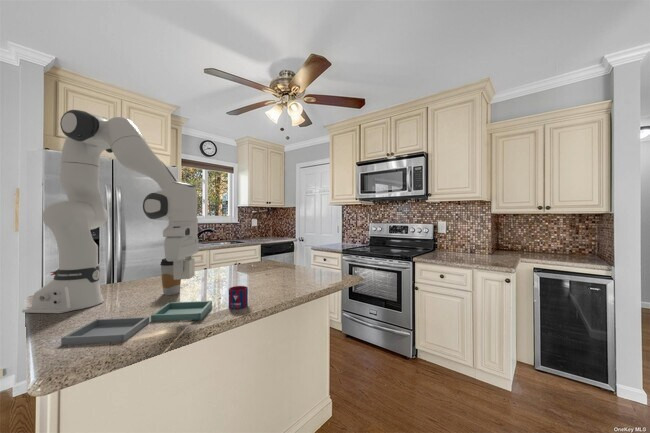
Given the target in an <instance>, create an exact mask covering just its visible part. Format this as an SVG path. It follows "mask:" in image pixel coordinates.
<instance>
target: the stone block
mask: <svg viewBox="0 0 650 433" xmlns="http://www.w3.org/2000/svg"><path fill="white" fill-rule="evenodd" d="M183 266H184V271H183V272H182V273H177V267H176V265H175V261H173V271H174V280H176V279H181V280H190V279H192V278H194V277H195V258H192V259H185V258H184V259H183Z"/></svg>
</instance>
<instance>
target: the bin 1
mask: <svg viewBox="0 0 650 433" xmlns="http://www.w3.org/2000/svg"><path fill="white" fill-rule="evenodd" d="M148 324H150V316H137V317H135V316H134V317H118V318H117V317H116V318H115V317H114V318H110V317H109V318H96V319H94V320H92V321H90V322H88V323H87V324H84V325H83V326H80V327H79V328H77V329H75V330H73V331H72V332H70V333H68V334H66V335H64V336H62V337H61V340H60V343H61V344H60V345H61V346H70V345H71V346H72V345H87V344H89V345H90V344H105V343H106V344H107V343H125V342H126V341H127V340H129V339H130V338H131V337H133V336H134V335H136V334H137V333H138V332H140V330H142V329H143V328H145V327H146V326H147V325H148Z"/></svg>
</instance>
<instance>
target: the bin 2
mask: <svg viewBox="0 0 650 433" xmlns="http://www.w3.org/2000/svg"><path fill="white" fill-rule="evenodd" d="M212 308H213V300H205V301H204V300H203V301H202V300H200V301H199V300H198V301H176V302H175V301H174V302H170V301H169V302H167V303H166V304H165V305H163V306H162V307H161V308H159V309H158V310H156V311H154V313H152V314H151V315H150V322H164V321H167V322H168V321H186V320H187V321H189V320H191V322H201V321H202V320H203V319H204V318H205V317H206V316H207V314H208V313H209V312H210V311H211V309H212Z"/></svg>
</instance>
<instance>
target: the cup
mask: <svg viewBox="0 0 650 433" xmlns="http://www.w3.org/2000/svg"><path fill="white" fill-rule="evenodd" d="M248 291H249V289H248V286H245V285H235V286H231V287H229V288H228V308H229V309H231V310H242V309H245V308H248V306H249V304H248V301H249V300H248V299H249V298H248V297H249V296H248V295H249V294H248Z"/></svg>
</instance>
